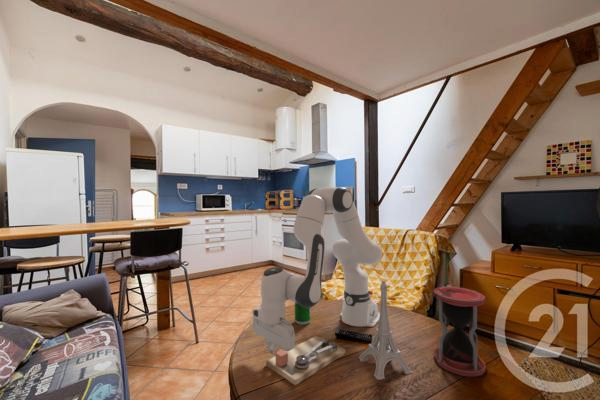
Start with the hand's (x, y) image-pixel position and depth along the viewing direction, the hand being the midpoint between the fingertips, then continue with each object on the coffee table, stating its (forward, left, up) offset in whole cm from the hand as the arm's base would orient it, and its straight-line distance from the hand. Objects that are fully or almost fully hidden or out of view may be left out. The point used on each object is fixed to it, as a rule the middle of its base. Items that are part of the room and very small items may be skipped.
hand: (272, 353), depth 99 cm
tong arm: (-12, +8, -2) cm, 15 cm away
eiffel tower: (-28, +28, -4) cm, 40 cm away
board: (-11, +7, -4) cm, 13 cm away
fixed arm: (-12, +11, -2) cm, 16 cm away
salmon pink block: (0, +4, -2) cm, 5 cm away
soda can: (-32, -17, -4) cm, 36 cm away
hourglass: (-48, +46, -4) cm, 66 cm away
